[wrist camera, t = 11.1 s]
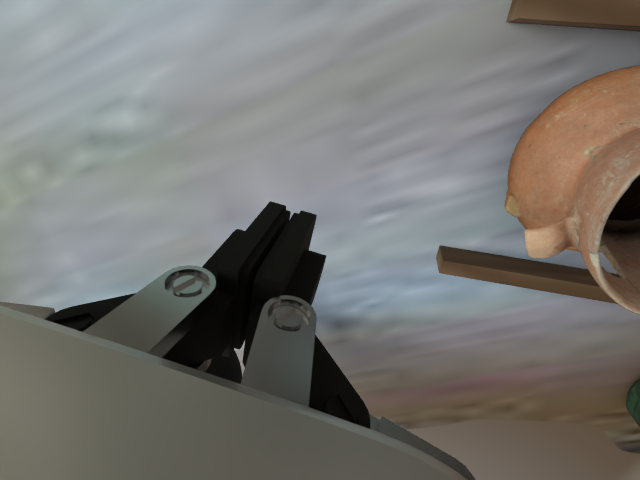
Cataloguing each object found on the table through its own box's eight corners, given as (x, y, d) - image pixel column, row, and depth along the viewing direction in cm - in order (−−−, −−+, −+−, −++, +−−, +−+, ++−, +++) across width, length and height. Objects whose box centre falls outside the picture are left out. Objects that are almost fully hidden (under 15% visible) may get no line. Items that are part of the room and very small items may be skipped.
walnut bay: (513, -2, 25) (526, -10, 22) (927, 22, 21) (1000, 17, 19) (436, 257, 36) (439, 272, 33) (696, 300, 32) (722, 322, 30)
